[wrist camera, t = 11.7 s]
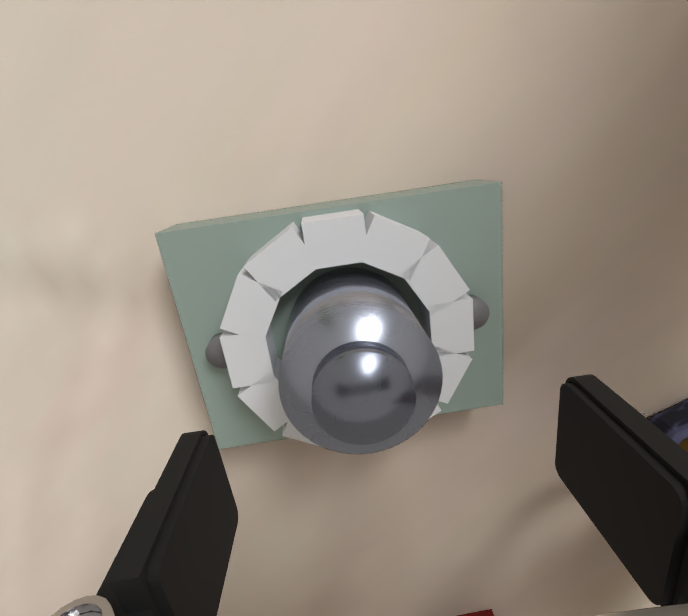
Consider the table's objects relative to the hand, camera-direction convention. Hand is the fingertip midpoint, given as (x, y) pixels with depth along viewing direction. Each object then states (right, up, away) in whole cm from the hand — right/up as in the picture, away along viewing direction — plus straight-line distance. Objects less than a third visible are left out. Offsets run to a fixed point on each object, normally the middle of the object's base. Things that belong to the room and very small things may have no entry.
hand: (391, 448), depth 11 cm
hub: (-1, +3, +10) cm, 10 cm away
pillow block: (-1, +4, +12) cm, 13 cm away
